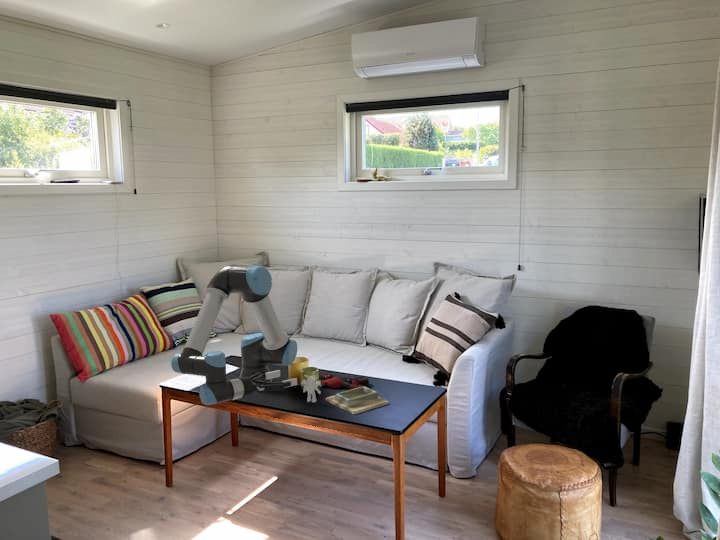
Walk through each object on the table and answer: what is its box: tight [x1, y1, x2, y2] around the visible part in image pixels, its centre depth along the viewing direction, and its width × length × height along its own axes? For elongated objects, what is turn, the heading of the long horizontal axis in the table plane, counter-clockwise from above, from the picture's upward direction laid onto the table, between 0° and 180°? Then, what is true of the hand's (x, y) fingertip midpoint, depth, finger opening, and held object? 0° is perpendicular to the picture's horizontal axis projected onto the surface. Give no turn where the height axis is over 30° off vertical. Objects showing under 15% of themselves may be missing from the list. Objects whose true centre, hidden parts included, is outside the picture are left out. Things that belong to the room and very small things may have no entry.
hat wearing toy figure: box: [300, 374, 322, 403], centre depth 249 cm, size 9×4×12 cm, turn 69°
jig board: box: [325, 386, 389, 415], centre depth 248 cm, size 20×18×4 cm
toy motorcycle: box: [318, 372, 370, 390], centre depth 268 cm, size 25×5×16 cm
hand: (288, 377), depth 241 cm, fingers open, 13 cm apart
